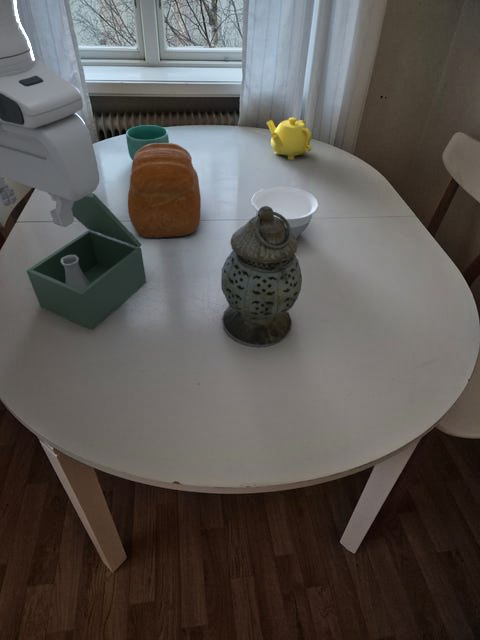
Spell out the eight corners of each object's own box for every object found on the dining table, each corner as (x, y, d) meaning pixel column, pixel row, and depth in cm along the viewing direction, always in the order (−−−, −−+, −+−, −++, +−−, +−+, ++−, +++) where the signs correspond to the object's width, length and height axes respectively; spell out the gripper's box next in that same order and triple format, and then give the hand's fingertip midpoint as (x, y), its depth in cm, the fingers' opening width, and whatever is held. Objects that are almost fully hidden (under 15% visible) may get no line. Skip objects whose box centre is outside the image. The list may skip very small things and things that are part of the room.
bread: (198, 196, 120) (196, 134, 108) (203, 238, 105) (200, 171, 93) (135, 198, 118) (125, 135, 107) (130, 241, 103) (118, 173, 91)
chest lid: (92, 197, 69) (107, 171, 70) (31, 178, 73) (46, 153, 74) (140, 247, 85) (152, 225, 86) (87, 229, 90) (99, 208, 91)
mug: (129, 156, 138) (124, 125, 132) (168, 153, 141) (165, 123, 134) (132, 178, 127) (127, 146, 120) (174, 175, 129) (172, 143, 123)
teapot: (264, 145, 148) (266, 110, 140) (303, 144, 149) (307, 110, 141) (270, 162, 138) (272, 126, 130) (311, 162, 139) (316, 126, 131)
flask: (60, 294, 87) (46, 253, 80) (96, 285, 89) (86, 245, 82) (66, 317, 82) (51, 275, 75) (104, 307, 84) (93, 265, 77)
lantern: (290, 299, 88) (306, 185, 71) (297, 350, 78) (318, 232, 61) (222, 298, 88) (222, 184, 71) (220, 349, 78) (219, 230, 61)
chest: (92, 330, 81) (81, 294, 75) (40, 306, 85) (25, 270, 79) (146, 282, 91) (141, 247, 85) (97, 263, 96) (89, 229, 90)
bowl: (325, 231, 108) (331, 200, 102) (289, 259, 99) (293, 226, 93) (274, 210, 115) (277, 180, 110) (236, 234, 106) (237, 202, 100)
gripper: (-107, 75, 43) (-47, 201, 52) (42, 112, 36) (80, 250, 46) (-49, 62, 47) (-3, 181, 56) (94, 93, 40) (119, 223, 50)
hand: (35, 212), depth 51 cm, fingers open, 8 cm apart
